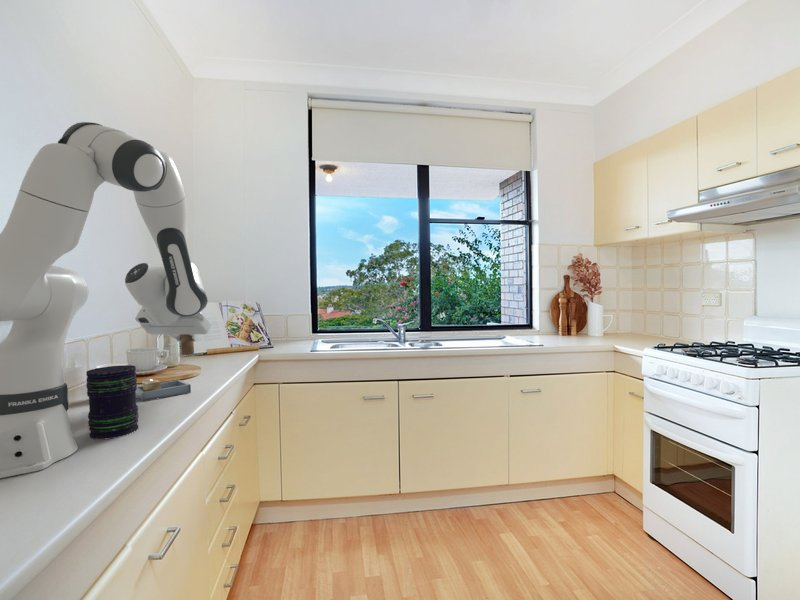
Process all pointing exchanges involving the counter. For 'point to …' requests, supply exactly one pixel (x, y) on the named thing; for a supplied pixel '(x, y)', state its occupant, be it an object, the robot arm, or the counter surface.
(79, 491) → the counter surface
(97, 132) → the robot arm
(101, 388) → the dark blue cylinder
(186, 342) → the brown wooden peg
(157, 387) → the oak block
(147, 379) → the silver dome cap
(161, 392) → the tray
